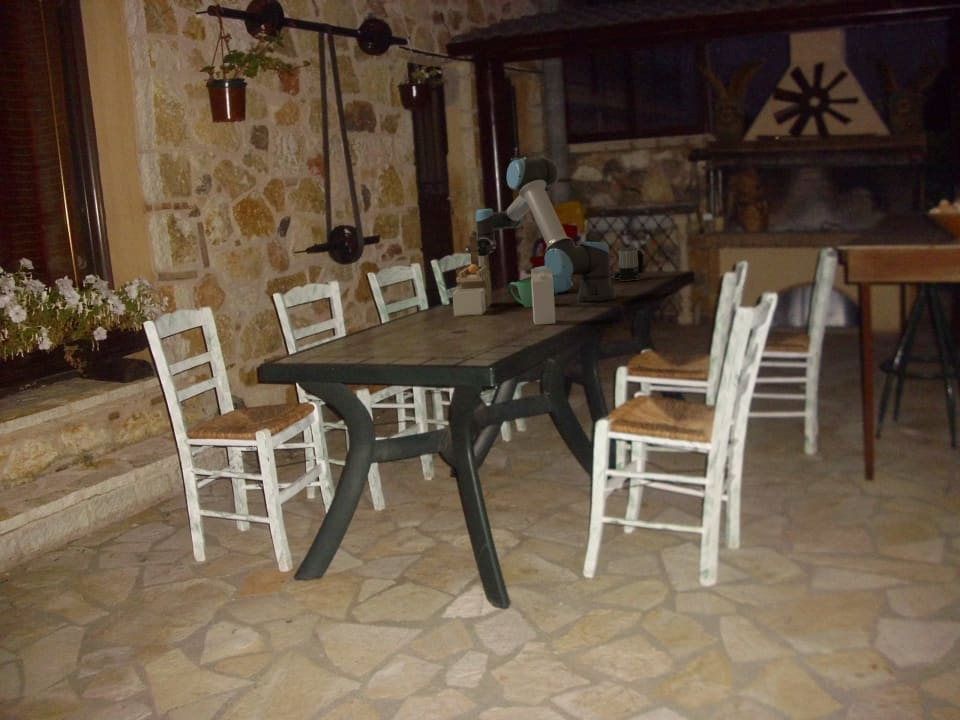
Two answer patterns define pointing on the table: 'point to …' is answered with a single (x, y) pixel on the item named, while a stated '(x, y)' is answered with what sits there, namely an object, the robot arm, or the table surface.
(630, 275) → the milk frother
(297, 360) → the table surface
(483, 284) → the launcher
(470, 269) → the ball
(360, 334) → the table surface
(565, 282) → the decorative pot
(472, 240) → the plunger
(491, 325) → the table surface
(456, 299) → the beige cardboard cube
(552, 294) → the milk carton
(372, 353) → the table surface
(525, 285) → the mug
